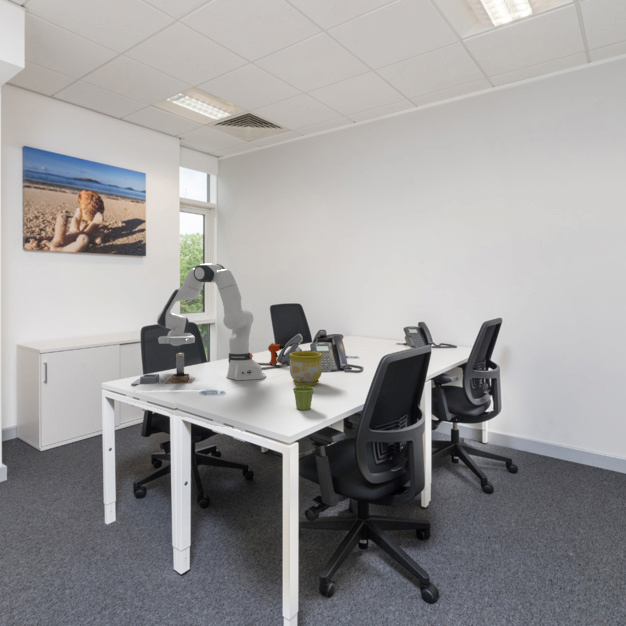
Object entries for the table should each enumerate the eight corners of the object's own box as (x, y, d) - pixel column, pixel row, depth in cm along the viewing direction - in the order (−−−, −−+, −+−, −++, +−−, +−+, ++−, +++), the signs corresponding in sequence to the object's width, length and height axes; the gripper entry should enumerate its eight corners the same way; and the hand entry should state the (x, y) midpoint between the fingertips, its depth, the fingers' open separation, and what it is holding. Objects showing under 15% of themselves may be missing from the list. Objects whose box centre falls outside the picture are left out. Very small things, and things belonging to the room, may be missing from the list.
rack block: (167, 380, 240) (167, 373, 240) (162, 385, 229) (162, 377, 228) (137, 380, 238) (137, 373, 238) (131, 385, 227) (131, 378, 226)
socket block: (195, 379, 243) (195, 372, 243) (191, 385, 229) (191, 377, 229) (169, 379, 242) (169, 372, 241) (164, 385, 228) (164, 378, 227)
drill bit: (184, 379, 238) (184, 352, 237) (183, 381, 234) (183, 353, 233) (177, 379, 237) (176, 352, 236) (175, 381, 233) (175, 354, 232)
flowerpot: (322, 380, 244) (322, 351, 243) (322, 387, 226) (322, 356, 225) (290, 379, 245) (290, 351, 244) (288, 387, 227) (288, 356, 226)
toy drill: (290, 365, 281) (287, 342, 281) (267, 366, 291) (265, 344, 291) (294, 364, 285) (292, 341, 285) (272, 365, 295) (270, 343, 295)
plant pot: (290, 406, 191) (291, 386, 190) (311, 405, 193) (311, 385, 192) (294, 412, 182) (294, 391, 181) (316, 410, 184) (316, 390, 183)
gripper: (157, 333, 254) (158, 336, 241) (193, 332, 262) (196, 335, 249) (157, 344, 255) (158, 347, 242) (193, 343, 262) (195, 346, 249)
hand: (177, 341), depth 245 cm, fingers open, 8 cm apart
